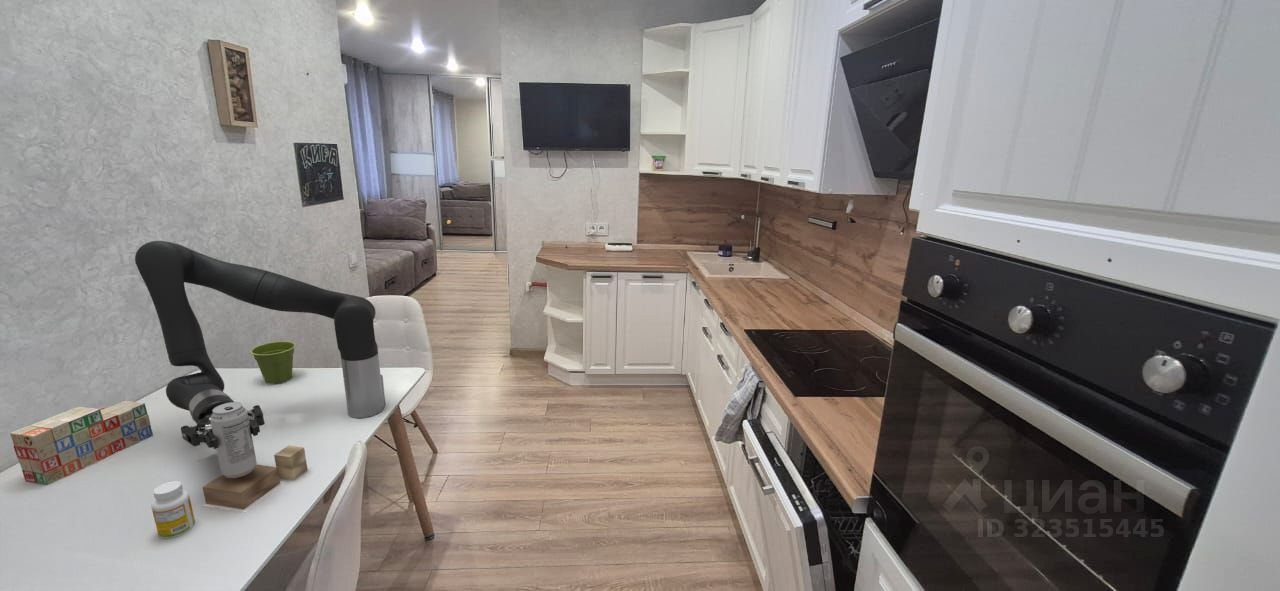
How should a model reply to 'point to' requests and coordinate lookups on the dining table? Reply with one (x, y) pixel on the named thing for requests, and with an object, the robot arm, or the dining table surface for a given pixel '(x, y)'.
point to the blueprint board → (249, 505)
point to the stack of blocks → (78, 439)
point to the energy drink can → (233, 439)
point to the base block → (241, 487)
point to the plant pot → (275, 360)
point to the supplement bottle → (172, 510)
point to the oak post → (291, 462)
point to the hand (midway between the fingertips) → (236, 437)
